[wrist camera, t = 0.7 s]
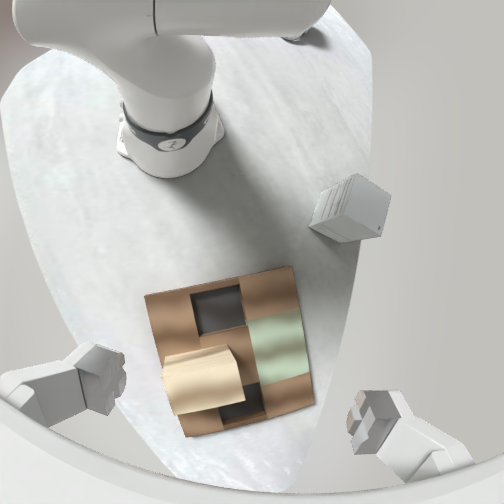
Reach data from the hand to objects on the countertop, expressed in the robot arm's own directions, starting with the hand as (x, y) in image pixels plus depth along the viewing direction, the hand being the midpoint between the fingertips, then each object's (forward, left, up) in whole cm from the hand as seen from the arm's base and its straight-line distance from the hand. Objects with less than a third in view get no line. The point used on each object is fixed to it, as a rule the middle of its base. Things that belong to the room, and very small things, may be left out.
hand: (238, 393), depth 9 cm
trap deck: (+12, +4, -38) cm, 40 cm away
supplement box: (-8, +26, -38) cm, 47 cm away
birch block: (+12, -2, -36) cm, 38 cm away
